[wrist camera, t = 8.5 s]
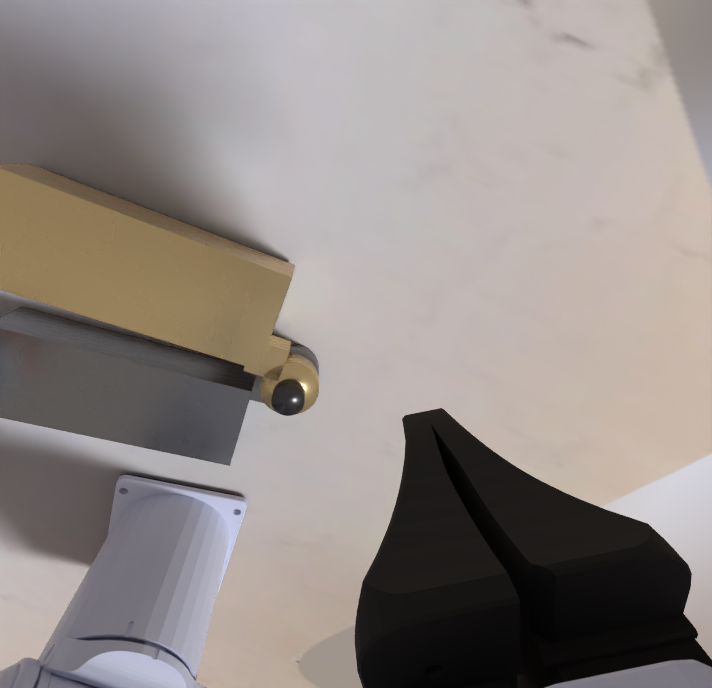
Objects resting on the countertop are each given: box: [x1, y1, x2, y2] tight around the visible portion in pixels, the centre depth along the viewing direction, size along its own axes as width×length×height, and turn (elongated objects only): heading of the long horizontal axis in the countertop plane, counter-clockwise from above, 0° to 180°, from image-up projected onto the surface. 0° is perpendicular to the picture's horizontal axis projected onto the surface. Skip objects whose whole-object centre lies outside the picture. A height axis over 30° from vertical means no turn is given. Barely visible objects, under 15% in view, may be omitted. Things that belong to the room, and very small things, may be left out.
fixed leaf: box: [0, 307, 319, 466], centre depth 20 cm, size 7×15×4 cm, turn 70°
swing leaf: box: [0, 164, 319, 414], centre depth 19 cm, size 7×15×2 cm, turn 67°
